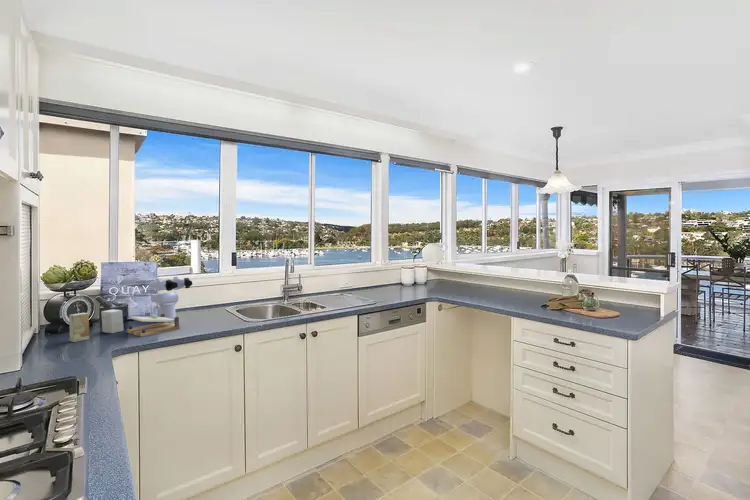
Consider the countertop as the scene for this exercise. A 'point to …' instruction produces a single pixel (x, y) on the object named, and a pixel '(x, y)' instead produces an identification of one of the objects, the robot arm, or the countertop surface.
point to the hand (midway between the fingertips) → (184, 284)
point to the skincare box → (79, 327)
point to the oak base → (154, 328)
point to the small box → (112, 321)
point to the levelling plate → (153, 319)
